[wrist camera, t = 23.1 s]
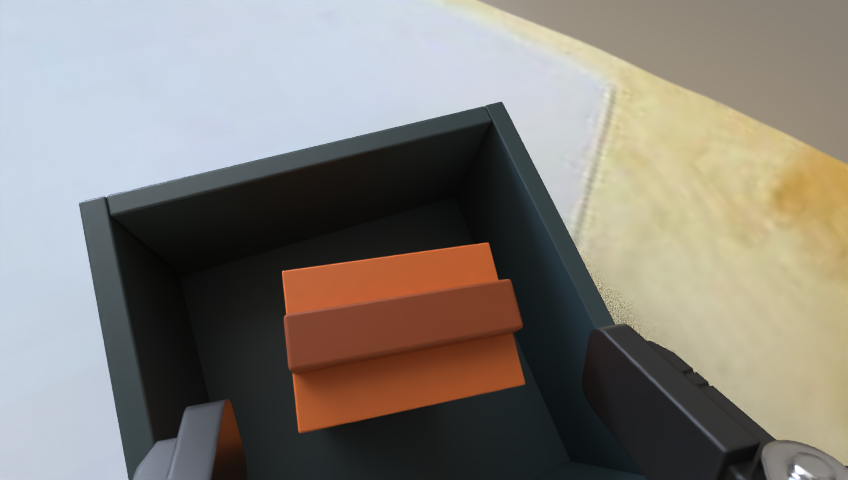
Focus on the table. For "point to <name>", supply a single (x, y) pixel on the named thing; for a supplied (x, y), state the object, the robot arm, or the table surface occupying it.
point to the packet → (398, 334)
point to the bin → (337, 243)
